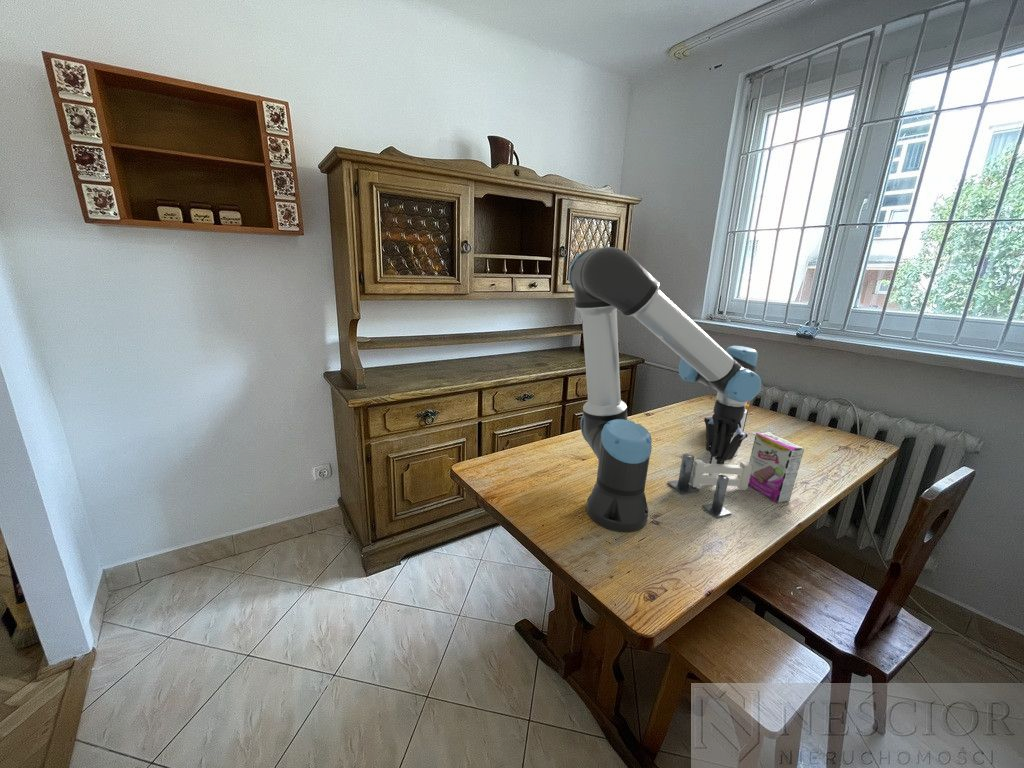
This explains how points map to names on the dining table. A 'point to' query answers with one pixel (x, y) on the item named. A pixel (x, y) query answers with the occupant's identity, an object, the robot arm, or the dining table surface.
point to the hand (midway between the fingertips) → (713, 476)
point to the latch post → (718, 499)
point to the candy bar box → (774, 466)
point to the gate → (700, 468)
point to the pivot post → (684, 476)
